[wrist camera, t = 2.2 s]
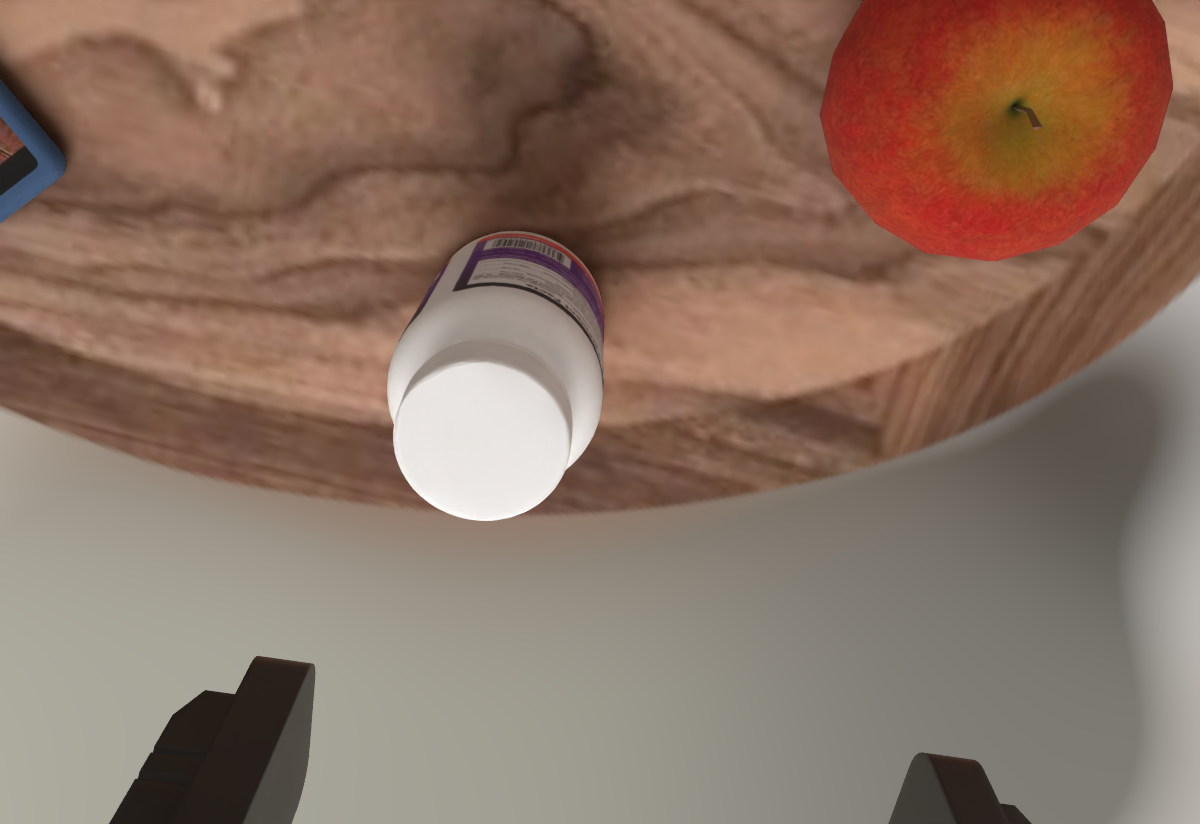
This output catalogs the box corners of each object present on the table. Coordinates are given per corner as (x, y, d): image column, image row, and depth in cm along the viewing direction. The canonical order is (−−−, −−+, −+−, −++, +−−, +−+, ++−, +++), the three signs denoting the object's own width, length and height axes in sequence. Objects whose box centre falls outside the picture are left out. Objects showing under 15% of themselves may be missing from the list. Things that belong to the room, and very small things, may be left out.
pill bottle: (499, 425, 33) (457, 588, 24) (395, 291, 32) (308, 414, 23) (639, 335, 32) (649, 472, 23) (538, 191, 30) (506, 279, 22)
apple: (1095, 174, 30) (1246, 236, 23) (829, 252, 31) (894, 334, 24) (1059, -109, 27) (1219, -142, 20) (769, -14, 28) (821, -13, 21)
